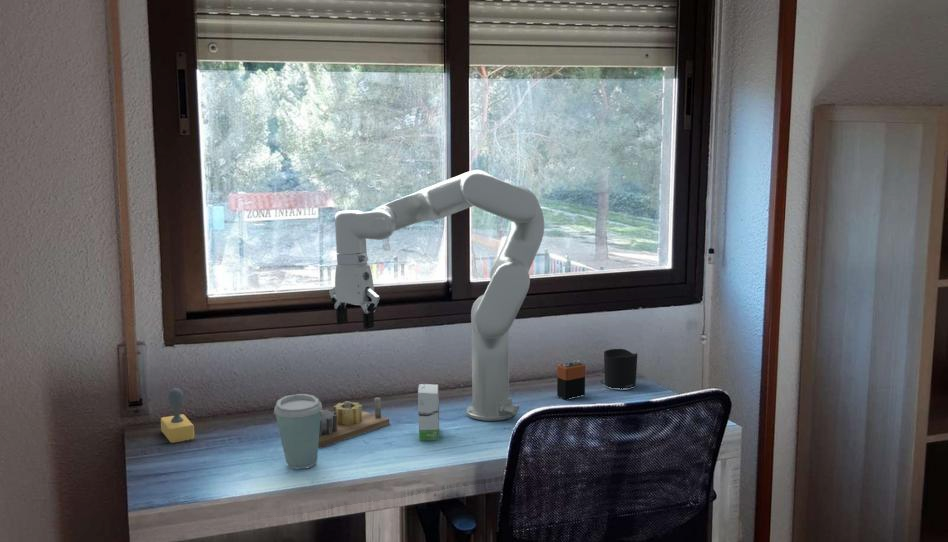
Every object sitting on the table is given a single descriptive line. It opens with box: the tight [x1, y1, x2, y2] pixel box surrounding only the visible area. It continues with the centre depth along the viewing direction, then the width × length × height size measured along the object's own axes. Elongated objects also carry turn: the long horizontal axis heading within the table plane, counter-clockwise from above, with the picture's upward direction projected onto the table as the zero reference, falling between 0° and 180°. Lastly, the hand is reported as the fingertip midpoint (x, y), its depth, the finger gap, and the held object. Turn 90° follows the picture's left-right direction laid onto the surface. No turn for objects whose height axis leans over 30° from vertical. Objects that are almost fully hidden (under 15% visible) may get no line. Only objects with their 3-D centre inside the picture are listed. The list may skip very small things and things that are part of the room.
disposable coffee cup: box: [273, 393, 323, 470], centre depth 209 cm, size 11×11×15 cm
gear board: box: [318, 397, 390, 448], centre depth 233 cm, size 13×22×7 cm, turn 139°
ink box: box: [417, 383, 440, 441], centre depth 229 cm, size 9×5×12 cm, turn 2°
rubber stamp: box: [160, 387, 195, 444], centre depth 230 cm, size 10×6×12 cm, turn 30°
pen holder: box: [603, 348, 638, 389], centre depth 268 cm, size 9×9×10 cm
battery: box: [556, 359, 586, 400], centre depth 259 cm, size 4×7×10 cm, turn 123°
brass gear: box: [333, 401, 363, 426], centre depth 235 cm, size 7×7×4 cm
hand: (355, 325), depth 240 cm, fingers open, 9 cm apart
